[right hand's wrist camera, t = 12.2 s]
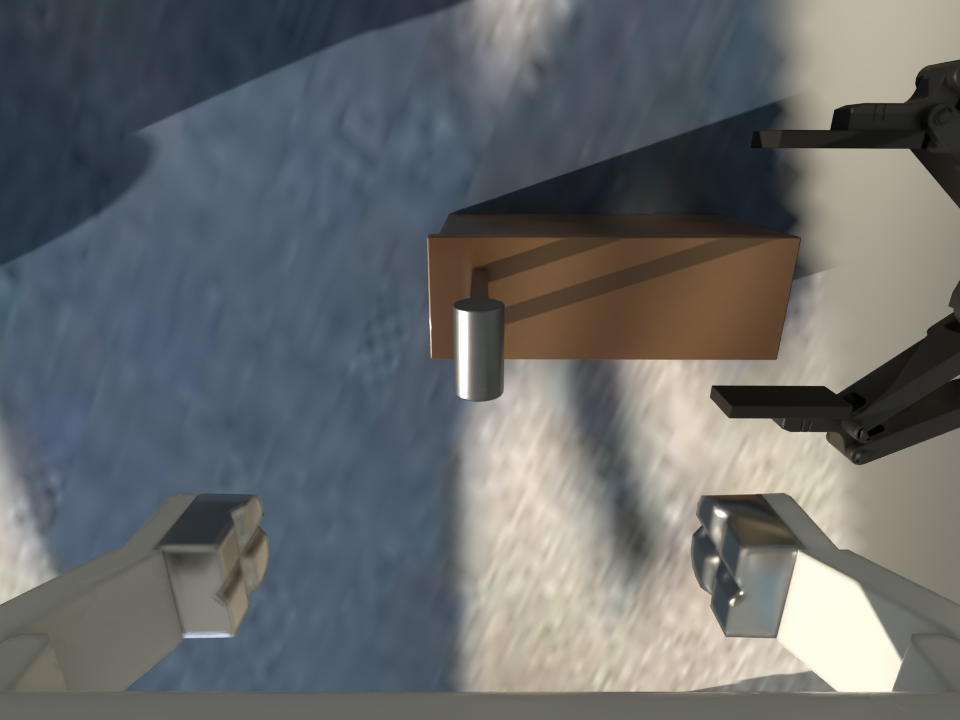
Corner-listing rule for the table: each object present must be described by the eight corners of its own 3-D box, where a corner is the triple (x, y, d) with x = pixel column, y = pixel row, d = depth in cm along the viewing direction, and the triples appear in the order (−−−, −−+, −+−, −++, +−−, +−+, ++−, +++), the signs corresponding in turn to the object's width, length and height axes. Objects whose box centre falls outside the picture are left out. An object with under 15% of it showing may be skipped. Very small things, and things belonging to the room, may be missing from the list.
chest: (450, 307, 36) (441, 353, 28) (448, 213, 34) (438, 233, 26) (704, 308, 36) (768, 354, 28) (718, 214, 34) (791, 234, 26)
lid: (432, 353, 28) (412, 434, 20) (428, 233, 26) (405, 272, 18) (768, 354, 28) (882, 436, 20) (792, 234, 26) (929, 273, 18)
